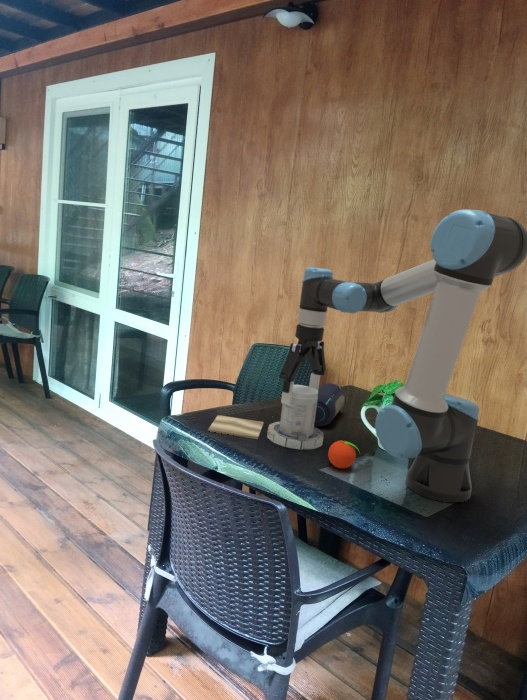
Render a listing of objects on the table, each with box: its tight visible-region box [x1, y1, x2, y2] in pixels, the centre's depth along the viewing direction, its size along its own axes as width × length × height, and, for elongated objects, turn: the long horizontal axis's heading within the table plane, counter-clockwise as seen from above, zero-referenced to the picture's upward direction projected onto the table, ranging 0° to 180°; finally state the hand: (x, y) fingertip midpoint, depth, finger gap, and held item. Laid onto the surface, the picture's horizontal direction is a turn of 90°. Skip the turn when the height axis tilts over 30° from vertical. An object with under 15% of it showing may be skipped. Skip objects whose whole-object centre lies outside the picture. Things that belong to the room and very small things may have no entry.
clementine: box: [327, 439, 361, 469], centre depth 143 cm, size 8×7×7 cm
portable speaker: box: [314, 382, 346, 427], centre depth 183 cm, size 25×10×10 cm, turn 162°
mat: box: [207, 414, 265, 440], centre depth 164 cm, size 14×14×1 cm
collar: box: [266, 421, 325, 451], centre depth 160 cm, size 16×16×4 cm
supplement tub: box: [278, 384, 318, 439], centre depth 159 cm, size 10×10×15 cm
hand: (299, 400), depth 159 cm, fingers open, 13 cm apart
